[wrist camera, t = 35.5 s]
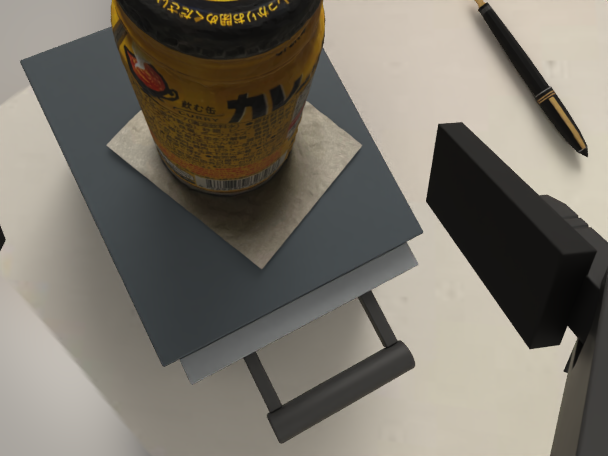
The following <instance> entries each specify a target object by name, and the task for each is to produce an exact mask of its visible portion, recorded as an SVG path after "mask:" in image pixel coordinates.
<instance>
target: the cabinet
mask: <svg viewBox="0 0 608 456" xmlns="http://www.w3.org/2000/svg"><path fill="white" fill-rule="evenodd" d="M20 63H21V65H22V67H23V69H24V71H25V73H26V76H27V77H28V80H29V82H30V84H31V86H32V88H33V91H34V93H35V95H36V97H37V99H38V101H39V103H40V105H41V108H42V110H43V112H44V114H45V116H46V118H47V120H48V123H49V125H50V127H51V129H52V131H53V133H54V135H55V137H56V140H57V142H58V144H59V146H60V148H61V150H62V152H63V155H64V157H65V159H66V161H67V163H68V165H69V167H70V169H71V172H72V174H73V176H74V178H75V180H76V182H77V184H78V187H79V189H80V191H81V193H82V195H83V197H84V199H85V201H86V204H87V206H88V208H89V210H90V212H91V214H92V216H93V219H94V221H95V223H96V225H97V227H98V229H99V231H100V233H101V236H102V238H103V240H104V242H105V244H106V246H107V248H108V251H109V253H110V255H111V257H112V259H113V261H114V263H115V265H116V268H117V270H118V272H119V274H120V276H121V278H122V280H123V283H124V285H125V287H126V289H127V291H128V293H129V295H130V297H131V300H132V302H133V304H134V306H135V308H136V310H137V312H138V315H139V317H140V319H141V321H142V323H143V325H144V327H145V329H146V332H147V334H148V336H149V338H150V340H151V342H152V344H153V347H154V349H155V351H156V353H157V355H158V357H159V359H160V361H161V364H162V366H163V367H165V366H167V365H169V364H171V363H173V362H175V361H177V360H179V359H181V358H183V357H184V356H186V355H188V354H190V353H192V352H194V351H196V350H198V349H200V348H202V347H204V346H206V345H208V344H210V343H212V342H213V341H215V340H217V339H219V338H221V337H223V336H225V335H227V334H229V333H231V332H233V331H235V330H237V329H239V328H241V327H242V326H244V325H246V324H248V323H250V322H252V321H254V320H256V319H258V318H260V317H262V316H264V315H266V314H268V313H270V312H271V311H273V310H275V309H277V308H279V307H281V306H283V305H285V304H287V303H289V302H291V301H293V300H295V299H297V298H299V297H300V296H302V295H304V294H306V293H308V292H310V291H312V290H314V289H316V288H318V287H320V286H322V285H324V284H326V283H327V282H329V281H331V280H333V279H335V278H337V277H339V276H341V275H343V274H345V273H347V272H349V271H351V270H353V269H355V268H356V267H358V266H360V265H362V264H364V263H366V262H368V261H370V260H372V259H374V258H376V257H378V256H380V255H382V254H384V253H385V252H387V251H389V250H391V249H393V248H395V247H397V246H399V245H401V244H403V243H405V242H407V241H409V240H411V239H413V238H414V237H416V236H418V235H420V234H422V233H423V230H422V228H421V227H420V225H419V223H418V221H417V219H416V217H415V216H414V214H413V212H412V210H411V208H410V206H409V205H408V203H407V201H406V199H405V197H404V195H403V194H402V192H401V190H400V188H399V186H398V184H397V183H396V181H395V179H394V177H393V175H392V173H391V172H390V170H389V168H388V166H387V164H386V162H385V161H384V159H383V157H382V155H381V153H380V151H379V150H378V148H377V146H376V144H375V142H374V140H373V139H372V137H371V135H370V133H369V131H368V129H367V128H366V126H365V124H364V122H363V120H362V118H361V117H360V115H359V113H358V111H357V109H356V107H355V106H354V104H353V102H352V100H351V98H350V96H349V95H348V93H347V91H346V89H345V87H344V85H343V84H342V82H341V80H340V78H339V76H338V74H337V73H336V71H335V69H334V67H333V65H332V63H331V62H330V60H329V58H328V56H327V54H326V52H325V51H324V49H323V48H322V51H321V54H320V57H319V62H318V64H317V68H316V71H315V74H314V77H313V80H312V84H311V87H310V90H309V94H308V96H307V99H306V101H307V102H309V103H310V104H311V105H313V106H314V107H315V108H316V109H317V110H318V111H320V112H321V113H322V114H324V115H325V116H327V117H328V118H329V119H331V120H332V121H333V122H334V123H335V124H336V125H337V126H338V127H340V128H341V129H343V130H344V131H345V132H347V133H348V134H349V135H351V136H352V137H353V138H354V139H355V140H356V141H358V142H359V143H360V144H361V145H362V146H361V148H360V149H359V150H358V151H357V153H356V154H355V155H354V156H353V158H352V159H351V160H350V161H349V162H348V164H347V165H346V166H345V167H344V169H343V170H342V171H341V172H340V174H339V175H338V176H337V177H336V179H335V180H334V181H333V182H332V183H331V185H330V186H329V187H328V188H327V190H326V191H325V192H324V194H323V195H322V196H321V197H320V198H319V200H318V201H317V202H316V203H315V205H314V206H313V207H312V208H311V209H310V211H309V212H308V213H307V214H306V216H305V217H304V218H303V219H302V221H301V222H300V223H299V224H298V226H297V227H296V228H295V229H294V230H293V232H292V233H291V234H290V235H289V237H288V238H287V239H286V240H285V242H284V243H283V244H282V245H281V246H280V248H279V249H278V250H277V251H276V253H275V254H274V255H273V256H272V258H271V259H270V260H269V261H268V262H267V264H266V265H265V266H264V267H263V269H261V268H259V267H258V266H257V265H256V264H254V263H253V262H252V261H251V260H250V259H248V258H247V257H246V256H245V255H243V254H242V253H241V252H240V251H238V250H237V249H236V248H234V247H233V246H232V245H230V244H229V243H228V242H226V241H225V240H224V239H223V238H222V237H220V236H219V235H218V234H217V233H215V232H214V231H213V230H212V229H210V228H209V227H208V226H207V225H205V224H204V223H203V222H202V221H201V220H199V219H198V218H197V217H196V216H194V215H193V214H192V213H190V212H189V211H188V210H186V209H185V208H184V207H183V206H182V205H180V204H179V203H178V202H176V201H175V200H174V199H173V198H171V197H170V196H169V195H168V194H166V193H165V192H164V191H162V190H161V189H160V188H159V187H157V186H156V185H155V184H154V183H153V182H151V181H150V180H149V179H148V178H147V177H145V176H144V175H143V174H141V173H140V172H139V171H138V170H136V169H135V168H134V167H133V166H131V165H130V164H129V163H128V162H126V161H125V160H124V159H123V158H121V157H120V156H119V155H118V154H117V153H115V152H114V151H113V150H112V149H110V148H109V147H108V146H107V144H108V143H109V142H110V141H111V140H112V139H113V137H114V136H115V135H116V134H117V133H118V132H119V131H120V130H121V129H122V128H123V127H124V126H125V125H126V124H127V123H128V122H129V121H130V120H131V119H132V118H133V117H134V116H135V115H136V114H137V113H138V112H139V111H141V107H140V105H139V102H138V100H137V98H136V95H135V92H134V90H133V87H132V85H131V83H130V80H129V77H128V74H127V72H126V70H125V67H124V65H123V63H122V61H121V56H120V54H119V52H118V50H117V46H116V43H115V40H114V35H113V31H112V27H110V28H107V29H104V30H101V31H98V32H96V33H93V34H91V35H88V36H86V37H82V38H80V39H77V40H74V41H72V42H69V43H66V44H63V45H61V46H58V47H55V48H53V49H50V50H47V51H45V52H42V53H39V54H37V55H34V56H31V57H29V58H26V59H23V60H21V61H20Z"/></svg>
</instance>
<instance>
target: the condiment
mask: <svg viewBox="0 0 608 456" xmlns="http://www.w3.org/2000/svg"><path fill="white" fill-rule="evenodd" d="M111 24H112V31H113V35H114V40H115V43H116V46H117V50H118V52H119V54H120V56H121V61H122V63H123V65H124V67H125V70H126V72H127V74H128V77H129V80H130V83H131V85H132V87H133V90H134V92H135V95H136V98H137V100H138V102H139V105H140V107H141V111H139V112H138V113H137V114H136V115H135V116H134V117H133V118H132V119H131V120H130V121H129V122H128V123H127V124H126V125H125V126H124V127H123V128H122V129H121V130H120V131H119V132H118V133H117V134H116V135H115V136H114V137H113V139H112V140H111V141H110V142H109V143H108V144H107V146H108V147H109V148H110V149H112V150H113V151H114V152H115V153H117V154H118V155H119V156H120V157H121V158H123V159H124V160H125V161H126V162H128V163H129V164H130V165H131V166H133V167H134V168H135V169H136V170H138V171H139V172H140V173H141V174H143V175H144V176H145V177H147V178H148V179H149V180H150V181H151V182H153V183H154V184H155V185H156V186H157V187H159V188H160V189H161V190H162V191H164V192H165V193H166V194H168V195H169V196H170V197H171V198H173V199H174V200H175V201H176V202H178V203H179V204H180V205H182V206H183V207H184V208H185V209H186V210H188V211H189V212H190V213H192V214H193V215H194V216H196V217H197V218H198V219H199V220H201V221H202V222H203V223H204V224H205V225H207V226H208V227H209V228H210V229H212V230H213V231H214V232H215V233H217V234H218V235H219V236H220V237H222V238H223V239H224V240H225V241H226V242H228V243H229V244H230V245H232V246H233V247H234V248H236V249H237V250H238V251H240V252H241V253H242V254H243V255H245V256H246V257H247V258H248V259H250V260H251V261H252V262H253V263H254V264H256V265H257V266H258V267H259V268H261V269H263V267H264V266H265V265H266V264H267V262H268V261H269V260H270V259H271V258H272V256H273V255H274V254H275V253H276V251H277V250H278V249H279V248H280V246H281V245H282V244H283V243H284V242H285V240H286V239H287V238H288V237H289V235H290V234H291V233H292V232H293V230H294V229H295V228H296V227H297V226H298V224H299V223H300V222H301V221H302V219H303V218H304V217H305V216H306V214H307V213H308V212H309V211H310V209H311V208H312V207H313V206H314V205H315V203H316V202H317V201H318V200H319V198H320V197H321V196H322V195H323V194H324V192H325V191H326V190H327V188H328V187H329V186H330V185H331V183H332V182H333V181H334V180H335V179H336V177H337V176H338V175H339V174H340V172H341V171H342V170H343V169H344V167H345V166H346V165H347V164H348V162H349V161H350V160H351V159H352V158H353V156H354V155H355V154H356V153H357V151H358V150H359V149H360V148H361V146H362V145H361V144H360V143H359V142H358V141H356V140H355V139H354V138H353V137H352V136H351V135H349V134H348V133H347V132H345V131H344V130H343V129H341V128H340V127H338V126H337V125H336V124H335V123H334V122H333V121H332V120H331V119H329V118H328V117H327V116H325V115H324V114H322V113H321V112H320V111H318V110H317V109H316V108H315V107H314V106H313V105H311V104H310V103H309V102H307V101H306V99H307V96H308V94H309V90H310V87H311V84H312V80H313V77H314V74H315V71H316V68H317V64H318V62H319V57H320V54H321V51H322V48H323V44H324V37H325V13H324V8H323V0H112V4H111Z"/></svg>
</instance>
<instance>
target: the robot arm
mask: <svg viewBox="0 0 608 456" xmlns="http://www.w3.org/2000/svg"><path fill="white" fill-rule="evenodd" d="M426 202H427V203H428V205H429V206H430V208H431V209H432V211H433V212H434V213H435V215H436V216H437V218H438V219H439V220H440V222H441V223H442V225H443V226H444V228H445V229H446V230H447V232H448V233H449V235H450V236H451V238H452V239H453V240H454V242H455V243H456V245H457V246H458V248H459V249H460V250H461V252H462V253H463V255H464V256H465V258H466V259H467V260H468V262H469V263H470V265H471V266H472V268H473V269H474V270H475V272H476V273H477V275H478V276H479V278H480V279H481V280H482V282H483V283H484V285H485V286H486V288H487V289H488V290H489V292H490V293H491V295H492V296H493V298H494V299H495V300H496V302H497V303H498V305H499V306H500V307H501V309H502V310H503V312H504V313H505V315H506V316H507V317H508V319H509V320H510V322H511V323H512V325H513V326H514V327H515V329H516V330H517V332H518V333H519V335H520V336H521V337H522V339H523V340H524V342H525V343H526V345H527V346H528V347H529V349H534V348H541V347H549V346H556V345H560V343H561V341H562V338H563V336H564V333H565V331H566V328H567V326H568V327H569V328H570V329H571V330H572V331H573V333H574V334H575V335H576V336H577V341H576V343H575V345H574V348H573V350H572V353H571V355H570V357H569V360H568V362H567V364H566V367H565V369H564V372H566V373H568V375H567V379H566V384H565V389H564V393H563V398H562V403H561V407H560V412H559V417H558V421H557V426H556V431H555V435H554V440H553V445H552V449H551V454H550V456H608V242H607V241H606V240H605V239H603V238H602V237H601V236H600V235H599V234H598V233H597V232H596V231H595V230H594V229H592V228H591V227H588V224H587V223H586V222H585V221H584V220H583V219H581V218H578V215H577V214H576V213H575V212H574V211H573V210H571V209H570V208H569V207H568V206H567V205H566V204H564V203H562V202H560V201H559V200H557V199H555V198H553V197H551V196H549V195H538V194H537V193H536V192H535V191H534V190H533V189H532V188H531V187H530V186H529V185H528V184H526V183H525V182H524V181H523V180H522V179H521V178H520V177H519V176H518V175H517V174H516V173H515V172H514V171H513V170H512V169H511V168H510V167H509V166H508V165H506V164H505V163H504V162H503V161H502V160H501V159H500V158H499V157H498V156H497V155H496V154H495V153H494V152H493V151H492V150H491V149H490V148H489V147H488V146H486V145H485V144H484V143H483V142H482V141H481V140H480V139H479V138H478V137H477V136H476V135H475V134H474V133H473V132H472V131H471V130H470V129H469V128H468V127H466V126H465V125H464V124H463V123H462V122H459V123H445V124H438V130H437V136H436V142H435V148H434V155H433V161H432V167H431V173H430V180H429V186H428V192H427V198H426ZM5 240H6V239H5V236H4V234H3V231H2V229H1V226H0V251H1V249H2V247H3V244H4V242H5Z"/></svg>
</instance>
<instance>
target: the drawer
mask: <svg viewBox="0 0 608 456" xmlns="http://www.w3.org/2000/svg"><path fill="white" fill-rule="evenodd" d="M417 265H418V262H417V260H416V259H415V257H414V255H413V253H412V251H411V249H410V247H409V246H408V244H407V242H405V243H403V244H401V245H399V246H397V247H395V248H393V249H391V250H389V251H387V252H385V253H384V254H382V255H380V256H378V257H376V258H374V259H372V260H370V261H368V262H366V263H364V264H362V265H360V266H358V267H356V268H355V269H353V270H351V271H349V272H347V273H345V274H343V275H341V276H339V277H337V278H335V279H333V280H331V281H329V282H327V283H326V284H324V285H322V286H320V287H318V288H316V289H314V290H312V291H310V292H308V293H306V294H304V295H302V296H300V297H299V298H297V299H295V300H293V301H291V302H289V303H287V304H285V305H283V306H281V307H279V308H277V309H275V310H273V311H271V312H270V313H268V314H266V315H264V316H262V317H260V318H258V319H256V320H254V321H252V322H250V323H248V324H246V325H244V326H242V327H241V328H239V329H237V330H235V331H233V332H231V333H229V334H227V335H225V336H223V337H221V338H219V339H217V340H215V341H213V342H212V343H210V344H208V345H206V346H204V347H202V348H200V349H198V350H196V351H194V352H192V353H190V354H188V355H186V356H184V357H183V358H181V359H180V362H181V364H182V366H183V368H184V370H185V372H186V374H187V377H188V379H189V381H190V383H191V384H192V385H193V384H195V383H197V382H199V381H200V380H202V379H204V378H206V377H208V376H210V375H212V374H214V373H215V372H217V371H219V370H221V369H223V368H225V367H227V366H229V365H231V364H232V363H234V362H236V361H238V360H240V359H242V358H244V360H245V362H246V364H247V366H248V368H249V371H250V373H251V375H252V377H253V379H254V381H255V383H256V385H257V387H258V389H259V391H260V393H261V395H262V397H263V399H264V401H265V403H266V405H267V407H268V409H269V411H270V412H269V413H268V414H267V418H268V420H269V422H270V424H271V427H272V429H273V431H274V433H275V435H276V437H277V439H278V441H279V443H281V444H282V443H284V442H286V441H287V440H289V439H291V438H293V437H294V436H296V435H298V434H300V433H301V432H303V431H305V430H307V429H308V428H310V427H312V426H314V425H315V424H317V423H319V422H320V421H322V420H324V419H326V418H327V417H329V416H331V415H333V414H334V413H336V412H338V411H340V410H341V409H343V408H345V407H347V406H348V405H350V404H352V403H353V402H355V401H357V400H359V399H360V398H362V397H364V396H366V395H367V394H369V393H371V392H373V391H374V390H376V389H378V388H380V387H381V386H383V385H385V384H386V383H388V382H390V381H392V380H393V379H395V378H397V377H399V376H400V375H402V374H404V373H406V372H407V371H409V370H411V369H413V368H414V367H415V361H414V358H413V356H412V354H411V352H410V350H409V349H408V347H407V346H406V345H405V344H404V343H403V342H402V341H400V340H399V341H397V339H396V337H395V335H394V333H393V331H392V329H391V327H390V326H389V324H388V322H387V320H386V318H385V316H384V314H383V312H382V310H381V308H380V307H379V305H378V303H377V301H376V299H375V297H374V295H373V293H372V291H371V290H372V289H374V288H376V287H378V286H379V285H381V284H383V283H385V282H387V281H389V280H391V279H393V278H395V277H396V276H398V275H400V274H402V273H404V272H406V271H408V270H410V269H411V268H413V267H415V266H417ZM357 297H358V298H359V300H360V302H361V304H362V306H363V308H364V310H365V312H366V314H367V316H368V317H369V319H370V321H371V323H372V325H373V327H374V329H375V331H376V333H377V335H378V337H379V339H380V340H381V342H382V344H383V346H384V347H386V348H384V349H382V350H380V351H378V352H377V353H375V354H373V355H371V356H370V357H368V358H366V359H364V360H362V361H361V362H359V363H357V364H355V365H353V366H352V367H350V368H348V369H346V370H345V371H343V372H341V373H339V374H337V375H336V376H334V377H332V378H330V379H328V380H327V381H325V382H323V383H321V384H320V385H318V386H316V387H314V388H312V389H311V390H309V391H307V392H305V393H303V394H302V395H300V396H298V397H296V398H294V399H293V400H291V401H289V402H287V403H286V404H284V405H282V404H281V402H280V400H279V398H278V396H277V394H276V392H275V390H274V388H273V386H272V384H271V382H270V380H269V378H268V376H267V374H266V372H265V370H264V368H263V366H262V364H261V362H260V360H259V357H258V355H257V353H256V352H255V351H257V350H259V349H261V348H263V347H264V346H266V345H268V344H270V343H272V342H274V341H276V340H278V339H280V338H281V337H283V336H285V335H287V334H289V333H291V332H293V331H295V330H297V329H298V328H300V327H302V326H304V325H306V324H308V323H310V322H312V321H313V320H315V319H317V318H319V317H321V316H323V315H325V314H327V313H329V312H330V311H332V310H334V309H336V308H338V307H340V306H342V305H344V304H346V303H347V302H349V301H351V300H353V299H355V298H357Z"/></svg>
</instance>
